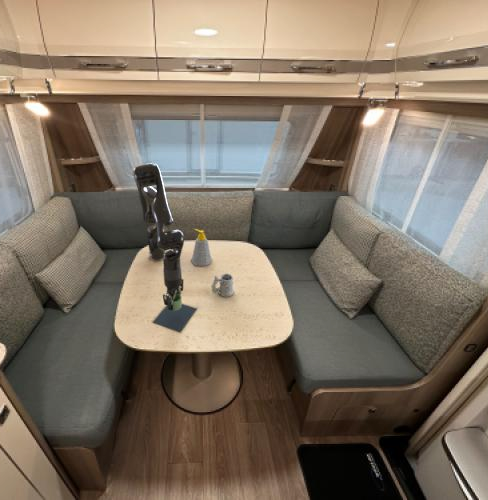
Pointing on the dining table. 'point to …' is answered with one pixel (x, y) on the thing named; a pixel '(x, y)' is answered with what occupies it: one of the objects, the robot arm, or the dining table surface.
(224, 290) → the mug
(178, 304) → the green cup
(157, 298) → the dining table surface
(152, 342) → the dining table surface
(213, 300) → the dining table surface
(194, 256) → the soap bottle
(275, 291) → the dining table surface
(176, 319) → the placemat
